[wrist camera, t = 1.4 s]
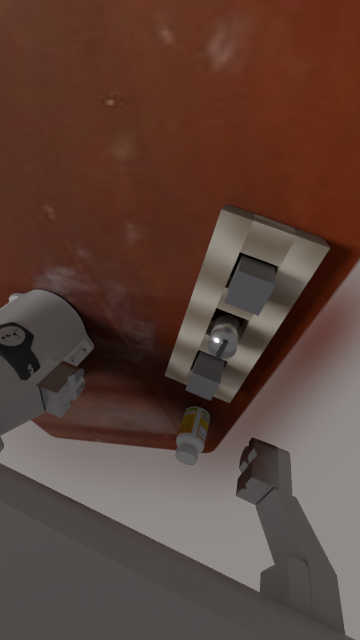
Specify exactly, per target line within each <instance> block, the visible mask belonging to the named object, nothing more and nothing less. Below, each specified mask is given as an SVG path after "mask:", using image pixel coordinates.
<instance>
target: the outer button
mask: <svg viewBox="0 0 360 640" xmlns="http://www.w3.org/2000/svg"><path fill="white" fill-rule="evenodd" d="M275 286H276V277H275V267H273V266H270V265H267V264H265V263H262V262H259V261H257V260H254V259H251V258H248V257H246V256H243V255H242V257H241V259H240V261H239V264H238V266H237V268H236V270H235V273H234V275H233V277H232V280H231V282H230V284H229V288H228V291H227V294H226V298H225V301H224V303H226V304H229V305H231V306H234V307H237V308H239V309H242V310H244V311H247V312H250V313H252V314H255V315H257V316H259V314H260V312H261V311H262V309H263V307H264V305H265V304H266V302H267V300H268V298H269V296H270V295H271V293H272V291H273V289H274V288H275Z"/></svg>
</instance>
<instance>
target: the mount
mask: <svg viewBox="0 0 360 640" xmlns="http://www.w3.org/2000/svg"><path fill="white" fill-rule="evenodd" d="M329 249H330V247H329V246H328V244H327V243H326V241H325V240H324V239H323V238H321V237H318V236H316V235H313V234H310V233H307V232H304V231H301V230H299V229H296V228H293V227H290V226H287V225H284V224H282V223H279V222H276V221H273V220H270V219H267V218H265V217H262V216H259V215H256V214H253V213H250V212H248V211H245V210H242V209H239V208H236V207H233V206H231V205H228V204H226V205H225V206H224V207H223V208H222V209H221V212H220V215H219V218H218V221H217V224H216V227H215V230H214V233H213V236H212V239H211V242H210V244H209V247H208V250H207V253H206V256H205V259H204V262H203V265H202V268H201V271H200V274H199V277H198V279H197V282H196V285H195V288H194V291H193V294H192V297H191V300H190V303H189V306H188V309H187V312H186V314H185V317H184V320H183V323H182V326H181V329H180V332H179V335H178V338H177V341H176V344H175V347H174V349H173V352H172V355H171V358H170V361H169V364H168V367H167V370H166V373H165V376H167V377H169V378H171V379H174V380H176V381H178V382H181V383H183V384H185V385H187V384H188V381H189V378H190V375H191V372H192V370H193V367H194V365H195V362H196V360H197V358H198V356H197V355H196V354H197V352H198V350H200V351H203V352H205V353H208V354H210V355H212V354H211V353H210V352H209V350H208V341H209V338H210V335H211V332H212V329H213V326H214V323H215V322H214V321H212V320H211V319H212V316H213V314H214V312H215V309H216V308H218V309H221V310H223V311H226V312H228V313H231V314H234V315H236V316H239V317H241V318H244V319H245V320H244V322H243V324H242V326H241V328H240V332H239V338H238V344H237V351H236V353H235V355H234V356H233V357H231V358H228V359H223V360H225V363H224V367H223V372H222V377H221V382H220V385H219V387H218V389H217V390H216V392H215V394H214V397H216V398H219V399H221V400H223V401H226V402H228V403H230V402H231V400H232V399H233V397H234V396H235V394H236V393H237V391H238V390H239V388H240V387H241V385H242V383H243V382H244V380H245V379H246V377H247V376H248V374H249V373H250V371H251V370H252V368H253V366H254V365H255V363H256V362H257V360H258V359H259V357H260V356H261V354H262V353H263V351H264V350H265V348H266V346H267V345H268V343H269V342H270V340H271V339H272V337H273V336H274V334H275V333H276V331H277V329H278V328H279V326H280V325H281V323H282V322H283V320H284V319H285V317H286V316H287V314H288V312H289V311H290V309H291V308H292V306H293V305H294V303H295V302H296V300H297V299H298V297H299V296H300V294H301V292H302V291H303V289H304V288H305V286H306V285H307V283H308V282H309V280H310V279H311V277H312V275H313V274H314V272H315V271H316V269H317V268H318V266H319V265H320V263H321V262H322V260H323V259H324V257H325V255H326V254H327V252H328V251H329ZM240 252H241V253H244V254H246V255H249V256H252V257H255V258H257V259H260V260H263V261H265V262H268V263H271V264H274V265H273V267H275V277H276V286H275V288H274V289H273V291H272V293H271V295H270V296H269V298H268V300H267V302H266V304H265V305H264V307H263V309H262V311H261V312H260V314H259V316H257V315H255V314H252V313H250V312H247V311H244V310H242V309H239V308H237V307H234V306H231V305H229V304H226V303H224V301H225V298H226V294H227V291H228V288H229V284H230V282H231V280H232V277H231V276H230V274H231V272H232V269H233V267H234V265H235V262H236V260H237V258H238V255H239V253H240Z"/></svg>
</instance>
